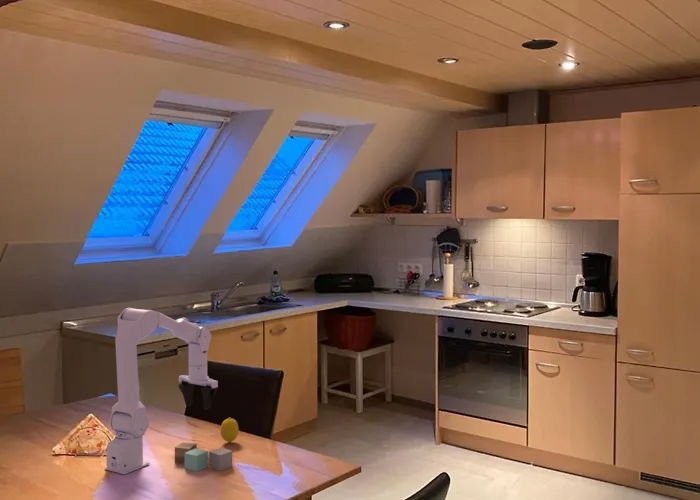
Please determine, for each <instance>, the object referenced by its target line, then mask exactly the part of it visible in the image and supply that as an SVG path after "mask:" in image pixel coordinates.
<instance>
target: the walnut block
mask: <svg viewBox="0 0 700 500" xmlns="http://www.w3.org/2000/svg"><path fill="white" fill-rule="evenodd" d="M197 446H198V445H197V443H191V442H183V441H182V442H181V443H180V444H178V445H176V446H175V447H174V463H176V464H177V463H178V464H181V465H182V464H183V465H185V453H186V452H188V451H190V450H193V449H195V448H197ZM197 449H198V448H197Z"/></svg>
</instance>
